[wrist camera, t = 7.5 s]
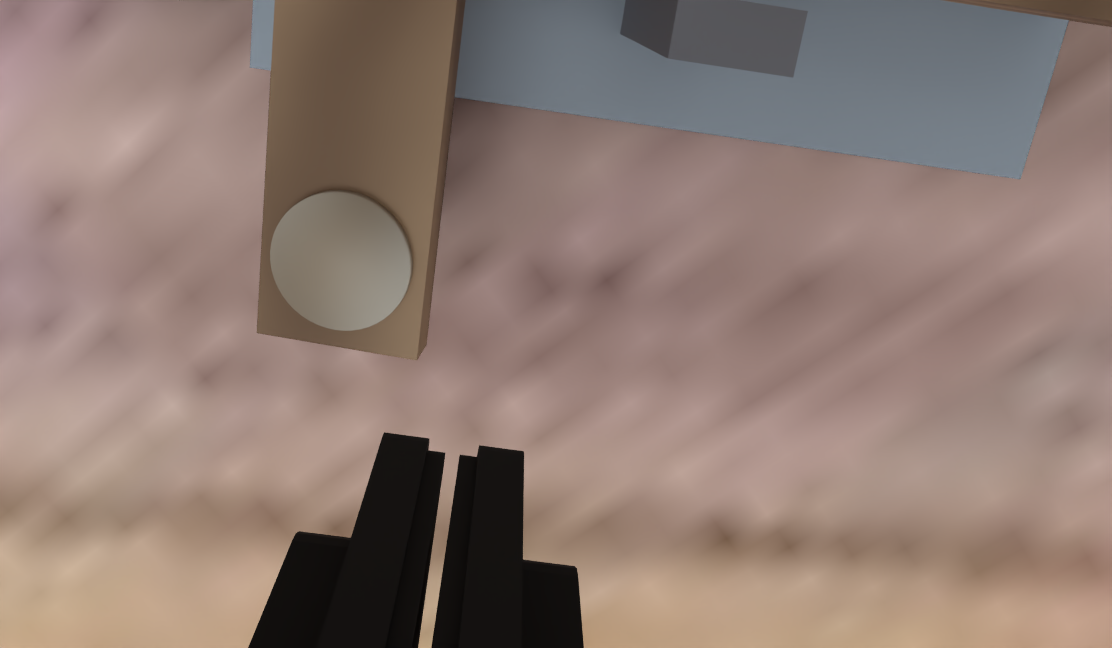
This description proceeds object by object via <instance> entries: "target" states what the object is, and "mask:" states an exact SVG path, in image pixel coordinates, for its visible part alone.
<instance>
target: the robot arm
mask: <svg viewBox="0 0 1112 648" xmlns="http://www.w3.org/2000/svg"><path fill="white" fill-rule="evenodd" d="M428 448H429V439H428V438H421V437H413V436H406V435H399V434H391V433H384V434H383V437H382V440H381V443H380V446H379V449H378V453H377V456H376V459H375V462H374V466H373V469H372V472H371V475H370V478H369V482H368V485H367V488H366V491H365V495H364V498H363V501H362V504H361V507H360V511H359V514H358V517H357V520H356V524H355V527H354V530H353V533H352V536H351V538H347V537H339V536H331V535H323V534H315V533H307V532H300V531H299V532H297V533H296V534H295V536H294V538H293V540H292V543H291V545H290V547H289V550H288V552H287V555H286V557H285V560H284V562H283V565H282V567H281V569H280V572H279V574H278V577H277V579H276V582H275V584H274V586H273V589H272V591H271V594H270V596H269V599H268V601H267V604H266V606H265V608H264V611H263V613H262V616H261V618H260V621H259V623H258V625H257V628H256V630H255V633H254V635H253V638H252V640H251V643H250V645H249V647H248V648H418V644H419V637H420V630H421V623H422V616H423V609H424V601H425V594H426V587H427V580H428V573H429V566H430V559H431V552H432V545H433V538H434V531H435V523H436V516H437V509H438V502H439V495H440V488H441V481H442V474H443V467H444V459H445V453H443V452H435V451H428ZM523 490H524V451H517V450H509V449H502V448H495V447H487V446H480V445H479V449H478V455H477V457H472V456H465V455H460V457H459V464H458V471H457V478H456V484H455V491H454V498H453V505H452V512H451V518H450V525H449V532H448V539H447V546H446V553H445V559H444V566H443V573H442V580H441V587H440V593H439V600H438V607H437V614H436V621H435V628H434V634H433V641H432V648H584V646H583V633H582V621H581V608H580V595H579V582H578V573H577V568H576V567H575V566H568V565H560V564H552V563H544V562H537V561H529V560H523Z"/></svg>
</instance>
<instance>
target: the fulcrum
mask: <svg viewBox="0 0 1112 648" xmlns="http://www.w3.org/2000/svg"><path fill="white" fill-rule="evenodd" d="M274 4H275V0H253V13H252V35H251V56H250V68H257V69H264V70H271V60H272V41H273V23H274ZM1068 22H1069V20H1064V19H1057V18H1051V17H1045V16H1038V15H1032V14H1026V13H1019V12H1013V11H1006V10H1000V9H994V8H987V7H981V6H975V5H968V4H962V3H955V2H949V1H943V0H466V1H465V9H464V18H463V27H462V36H461V44H460V53H459V62H458V71H457V80H456V88H455V97H457V98H464V99H470V100H477V101H484V102H491V103H498V104H505V105H512V106H519V107H526V108H532V109H539V110H546V111H553V112H560V113H567V114H574V115H581V116H588V117H594V118H601V119H608V120H615V121H622V122H629V123H636V124H643V125H649V126H656V127H663V128H670V129H677V130H684V131H691V132H698V133H705V134H711V135H718V136H725V137H732V138H739V139H746V140H753V141H760V142H767V143H773V144H780V145H787V146H794V147H801V148H808V149H815V150H822V151H829V152H835V153H842V154H849V155H856V156H863V157H870V158H877V159H884V160H891V161H897V162H904V163H911V164H918V165H925V166H932V167H939V168H946V169H953V170H959V171H966V172H973V173H980V174H987V175H994V176H1001V177H1008V178H1014V179H1021V176H1022V172H1023V169H1024V166H1025V163H1026V159H1027V156H1028V153H1029V149H1030V146H1031V143H1032V140H1033V136H1034V133H1035V130H1036V126H1037V123H1038V120H1039V117H1040V113H1041V110H1042V107H1043V104H1044V100H1045V97H1046V94H1047V90H1048V87H1049V84H1050V81H1051V77H1052V74H1053V71H1054V67H1055V64H1056V61H1057V58H1058V54H1059V51H1060V48H1061V45H1062V41H1063V38H1064V35H1065V31H1066V28H1067V25H1068Z"/></svg>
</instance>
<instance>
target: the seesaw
mask: <svg viewBox="0 0 1112 648" xmlns="http://www.w3.org/2000/svg"><path fill="white" fill-rule="evenodd" d="M465 1H466V0H275V4H274V23H273V41H272V60H271V78H270V97H269V115H268V134H267V152H266V171H265V189H264V208H263V226H262V245H261V263H260V282H259V300H258V319H257V333H260V334H266V335H272V336H278V337H284V338H289V339H295V340H301V341H307V342H313V343H318V344H324V345H330V346H336V347H342V348H348V349H353V350H359V351H365V352H371V353H377V354H383V355H388V356H394V357H400V358H406V359H412V360H417V359H418V358H419V356H420V354H421V353H422V351H423V350H424V348H425V346H426V343H427V334H428V326H429V317H430V308H431V299H432V290H433V282H434V273H435V264H436V255H437V246H438V238H439V229H440V220H441V211H442V203H443V194H444V185H445V176H446V167H447V159H448V150H449V141H450V132H451V124H452V115H453V106H454V97H455V88H456V80H457V71H458V62H459V53H460V44H461V36H462V27H463V18H464V9H465ZM943 1H949V2H955V3H962V4H968V5H975V6H981V7H987V8H994V9H1000V10H1006V11H1013V12H1019V13H1026V14H1032V15H1038V16H1045V17H1051V18H1057V19H1064V20H1070V21H1076V22H1083V23H1089V24H1096V25H1102V26H1108V27H1112V0H943Z"/></svg>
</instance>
